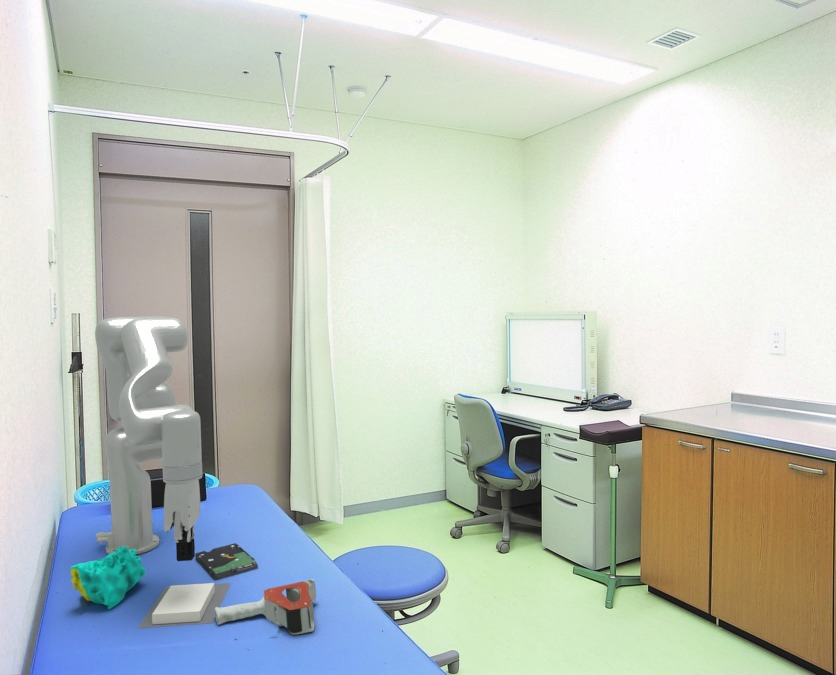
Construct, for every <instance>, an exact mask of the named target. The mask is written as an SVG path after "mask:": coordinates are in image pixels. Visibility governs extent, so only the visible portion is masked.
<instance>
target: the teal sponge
mask: <svg viewBox="0 0 836 675" xmlns="http://www.w3.org/2000/svg"><path fill="white" fill-rule="evenodd" d="M69 571H70V576H71V579H70V581H71V583H72V586H73V587H72V588H73V589H74V590H77V591H78V592H79V593H80V595H81V596H82V597H83V599H85V600H86V601H88V602H92V603H94V604H98V605H99V604H100V605H105V606H107V610H111V609H112V608H114V607H116V606H117V605H118V604H119V603H120V602H121V601H122V600H123V599H124V598H125V597H126V593H127V592H128V591H130V590H131V589H132V588H133V587H135V585H136V584H137V583H138V582H139V581H140V580H141V579H142V578H143V577H144V575H145V574H146V572H147V570H146V568H145V567H144V566H143V565H142V557H140V556H138V555H136V549H131V550H128V548H127V547H126V546H124V547H122V546H121V547H120V548H117V551H115V552H113V553H110V554H107V555H106V556H104V557H103V558H98V559H96V560H89V561H86V562H81V563H76V564H74V565H72V566H70V567H69Z"/></svg>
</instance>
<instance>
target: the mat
mask: <svg viewBox="0 0 836 675" xmlns="http://www.w3.org/2000/svg"><path fill="white" fill-rule="evenodd" d="M170 587H171V586H165V587H164V589H163V590H162V591H161V593H160V594H159V596H158V597H157V598H156V600H155V601H154V603H153V604H152V606H151V607H150V609H149V610H148V612H147V613H146V615H145V616H144V617H143V619H142V620H141V622H140V624H139V625H138V626H137V629H147V628H148V629H150V628H162V627H177V626H178V627H179V626H195V625H208V624H213V622H214V621H215V620H216V618H215V610H214V609H215V608H216V607H219V608H220V607H221V606H222V604H223V601H224V599H225V597H226V594H227V592H228V591H229V590H228V589H230V587H231V582H223V583H215V593H214V595H213V597H212V599H211V601H210V603H209V605H208V607H207V609H206V611H205V613H204V615H203V617H202V619H201V621H197V622H182V623H166V624H152V614H153V612H154V611H155V609H156V608H157V606H158V605H159V603H160V602H161V600H162V599H163V597H164V596H165V594H166V593H167V591H168V590H169V588H170Z"/></svg>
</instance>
